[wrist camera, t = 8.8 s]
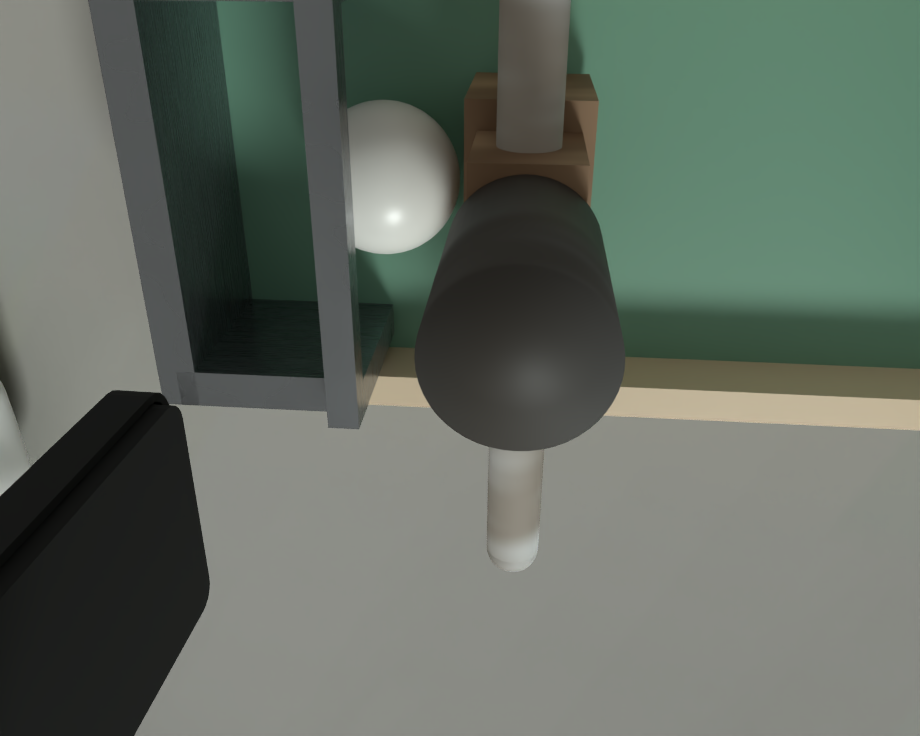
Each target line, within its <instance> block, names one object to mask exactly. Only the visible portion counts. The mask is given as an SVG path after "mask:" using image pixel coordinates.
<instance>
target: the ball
mask: <svg viewBox="0 0 920 736" xmlns="http://www.w3.org/2000/svg"><path fill="white" fill-rule="evenodd" d="M347 113H348V131H349V148H350V165H351V182H352V200H353V217H354V234H355V248H358V249H360V250H363V251H367V252H371V253H376V254H395V253H402V252H405V251H409V250H412V249H414V248H416V247H419V246H421V245H422V244H424V243H425V242H427V241H429V240H430V239H431V238H432V237H434V236H435V235H436V234H437V233H438V232H439V231H440V230H441V229H442V228H443V226H444V225H445V224H446V222H447V221H448V219H449V218H450V216H451V214H452V212H453V210H454V207H455V205H456V202H457V198H458V194H459V188H460V169H459V163H458V158H457V155H456V152H455V149H454V147H453V145H452V143H451V141H450V139H449V137H448V136H447V134H446V133H445V131H444V130H443V129H442V127H441V126H440V125H439V124H438V123H437V122H436V121H435V120H434V119H433V118H432V117H430V116H429V115H428V114H426V113H425V112H424V111H422V110H420V109H418V108H416V107H414V106H412V105H410V104H406V103H403V102H399V101H394V100H372V101H366V102H363V103H359V104H357V105H354V106H352V107H350V108H348V109H347Z"/></svg>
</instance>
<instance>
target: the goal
mask: <svg viewBox="0 0 920 736" xmlns="http://www.w3.org/2000/svg"><path fill="white" fill-rule="evenodd" d="M216 1H263V2H293V5H294V17H295V29H296V41H297V53H298V65H299V77H300V89H301V102H302V114H303V126H304V138H305V150H306V162H307V174H308V187H309V199H310V211H311V223H312V235H313V247H314V259H315V271H316V284H317V296H318V301H295V300H268V299H253V298H252V290H251V282H250V273H249V265H248V257H247V249H246V241H245V232H244V224H243V216H242V208H241V200H240V191H239V183H238V175H237V167H236V159H235V150H234V142H233V134H232V126H231V118H230V109H229V101H228V93H227V85H226V76H225V68H224V60H223V52H222V44H221V35H220V27H219V19H218V11H217V3H216ZM343 1H346V0H88V2H89V7H90V12H91V18H92V23H93V28H94V34H95V39H96V44H97V50H98V55H99V60H100V66H101V71H102V76H103V82H104V87H105V92H106V98H107V103H108V108H109V114H110V119H111V124H112V130H113V135H114V140H115V146H116V151H117V156H118V162H119V167H120V172H121V178H122V183H123V188H124V194H125V199H126V204H127V210H128V215H129V220H130V226H131V231H132V236H133V242H134V247H135V252H136V258H137V263H138V268H139V274H140V279H141V284H142V290H143V295H144V300H145V306H146V311H147V316H148V322H149V327H150V332H151V338H152V343H153V348H154V354H155V359H156V364H157V370H158V375H159V380H160V386H161V391H162V395H164V396H165V398H166V399H167V401H168V403H169V404H181V405H202V406H223V407H244V408H265V409H286V410H307V411H327V417H328V428H346V429H359V428H360V425H361V422H362V420H363V417H364V414H365V412H366V409H367V406H368V403H369V401H370V398H371V395H372V392H373V390H374V387H375V384H376V382H377V379H378V376H379V373H380V371H381V368H382V365H383V362H384V360H385V357H386V354H387V352H388V349H389V346H390V343H391V341H392V338H393V335H394V313H393V304H375V303H358V286H357V269H356V251H355V234H354V217H353V200H352V182H351V165H350V148H349V131H348V113H347V96H346V79H345V61H344V44H343V27H342V10H341V2H343Z"/></svg>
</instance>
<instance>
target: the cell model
mask: <svg viewBox="0 0 920 736" xmlns="http://www.w3.org/2000/svg"><path fill="white" fill-rule="evenodd" d="M29 468H30V462H29V457H28V453H27V450H26V447H25V444H24V441H23V438H22V436H21V432H20V429H19V426H18V423H17V421H16V418H15V415H14V412H13V409H12V407H11V404H10V401H9V398H8V396H7V393H6V390H5V388H4V386H3V384H2V382H1V381H0V496H1V495H2V494H3V493H4V492H5V491H6V490H7V489H8V488H9V487H10V486H11V485H12V484H13V483H14V482H15V481H17V480H18V479H19V478H20V477H21V476H22V475H23V474H24V473H25V472H26V471H27V470H28V469H29Z"/></svg>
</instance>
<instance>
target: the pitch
mask: <svg viewBox="0 0 920 736" xmlns="http://www.w3.org/2000/svg"><path fill="white" fill-rule="evenodd" d="M216 3H217V11H218V19H219V27H220V35H221V44H222V52H223V60H224V68H225V76H226V85H227V93H228V101H229V109H230V118H231V126H232V134H233V142H234V150H235V159H236V167H237V175H238V183H239V191H240V200H241V208H242V216H243V224H244V232H245V241H246V249H247V257H248V265H249V273H250V282H251V290H252V298H253V299H268V300H295V301H318V296H317V284H316V271H315V259H314V247H313V235H312V223H311V211H310V199H309V187H308V174H307V162H306V150H305V138H304V126H303V114H302V102H301V89H300V77H299V65H298V53H297V41H296V29H295V17H294V5H293V2H263V1H216ZM341 10H342V27H343V44H344V61H345V79H346V96H347V109H348V108H350V107H352V106H354V105H357V104H359V103H363V102H366V101H372V100H394V101H399V102H403V103H406V104H410V105H412V106H414V107H416V108H418V109H420V110H422V111H424V112H425V113H426V114H428V115H429V116H430V117H432V118H433V119H434V120H435V121H436V122H437V123H438V124H439V125H440V126H441V127H442V129H443V130H444V131H445V133H446V134H447V136H448V137H449V139H450V141H451V143H452V145H453V147H454V149H455V152H456V155H457V158H458V163H459V169H460V188H459V194H458V198H457V202H456V205H455V207H454V210H453V212H452V214H451V216H450V218H449V219H448V221H447V222H446V224H445V225H444V226H443V228H442V229H441V230H440V231H439V232H438V233H437V234H436V235H435V236H434V237H432V238H431V239H430V240H429V241H427V242H425V243H424V244H422V245H421V246H419V247H416V248H414V249H412V250H409V251H405V252H402V253H395V254H376V253H371V252H367V251H363V250H360V249H358V248H355V251H356V269H357V286H358V303H375V304H393V313H394V335H393V338H392V341H391V343H390V346H389V349H388V352H387V354H386V357H385V360H384V362H383V365H382V368H381V371H380V373H379V376H378V379H377V382H376V384H375V387H374V390H373V392H372V395H371V398H370V401H369V403H368V405H389V406H410V407H431V406H430V405H429V404H428V402H427V400H426V398H425V397H424V395H423V393H422V390H421V388H420V385H419V383H418V379H417V375H416V371H415V361H414V354H415V343H416V338H417V334H418V330H419V327H420V324H421V321H422V317H423V314H424V311H425V308H426V304H427V301H428V298H429V295H430V291H431V288H432V285H433V282H434V278H435V275H436V272H437V269H438V265H439V262H440V259H441V256H442V252H443V249H444V246H445V243H446V240H447V236H448V233H449V230H450V227H451V224H452V221H453V219H454V217H455V215H456V213H457V212H458V210H459V209H460V207H461V206H462V204H463V203H464V98H465V96H466V94H467V91H468V89H469V87H470V85H471V83H472V81H473V79H474V76H475V74H476V72H491V73H498V42H499V0H346V1H343V2H341ZM567 74H590V77H591V80H592V83H593V85H594V88H595V91H596V94H597V97H598V100H599V106H598V119H597V132H596V145H595V157H594V170H593V183H592V196H591V209H592V211H593V213H594V214H595V216H596V218H597V221H598V223H599V225H600V229H601V233H602V237H603V242H604V247H605V252H606V257H607V262H608V267H609V272H610V277H611V282H612V287H613V292H614V296H615V301H616V306H617V311H618V316H619V321H620V326H621V331H622V336H623V341H624V348H625V370H624V375H623V380H622V383H621V386H620V389H619V392H618V394H617V396H616V398H615V400H614V402H613V403H612V405H611V406H610V408H609V409H608V410H607V412H606V413H605V414H604V415H603V416H624V417H645V418H666V419H688V420H709V421H730V422H752V423H773V424H795V425H816V426H837V427H859V428H880V429H901V430H920V0H571V8H570V25H569V41H568V58H567Z"/></svg>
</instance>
